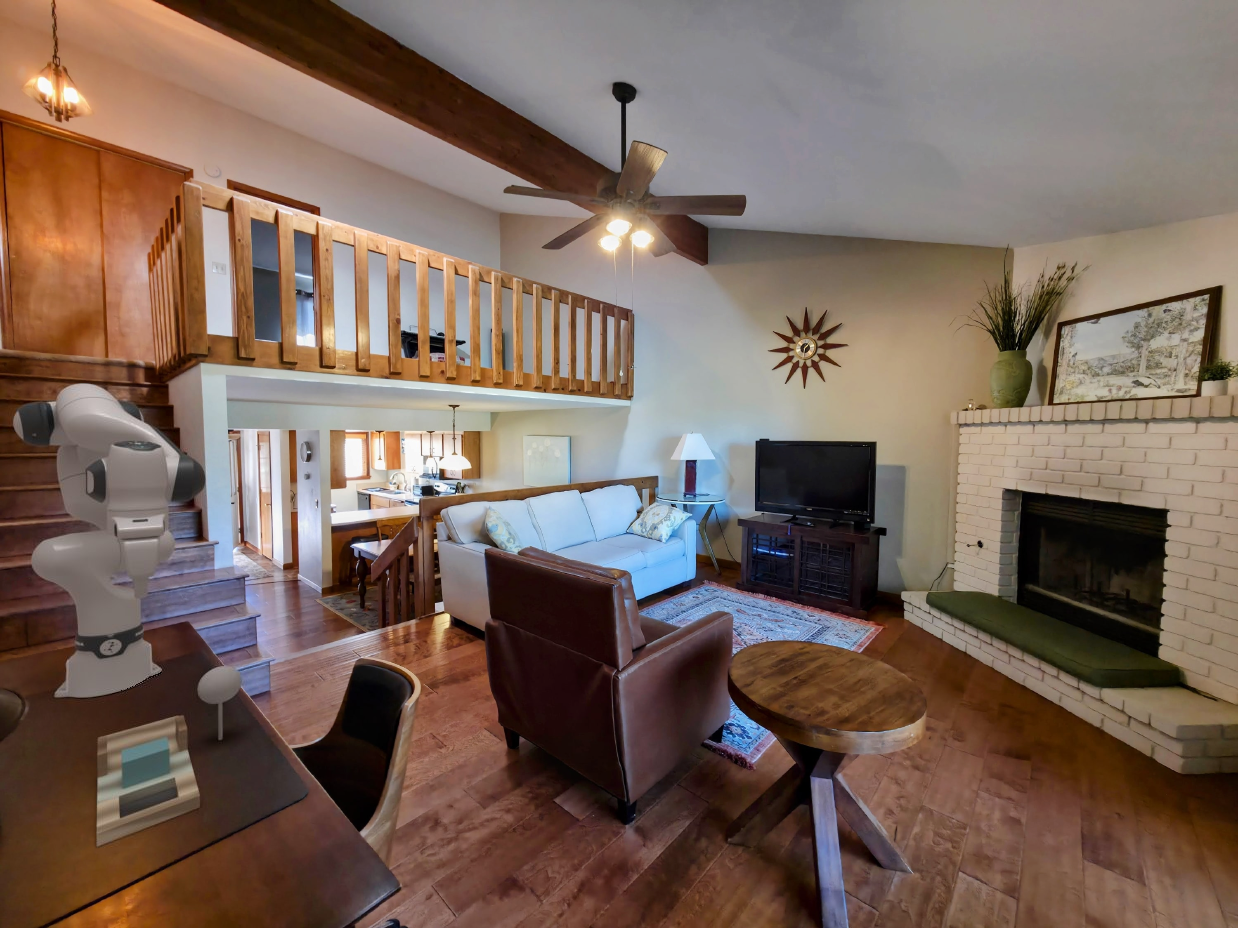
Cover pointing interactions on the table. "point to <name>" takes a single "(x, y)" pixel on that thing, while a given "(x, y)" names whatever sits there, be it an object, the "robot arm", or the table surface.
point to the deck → (150, 798)
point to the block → (145, 762)
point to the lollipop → (219, 689)
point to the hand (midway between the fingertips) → (139, 592)
